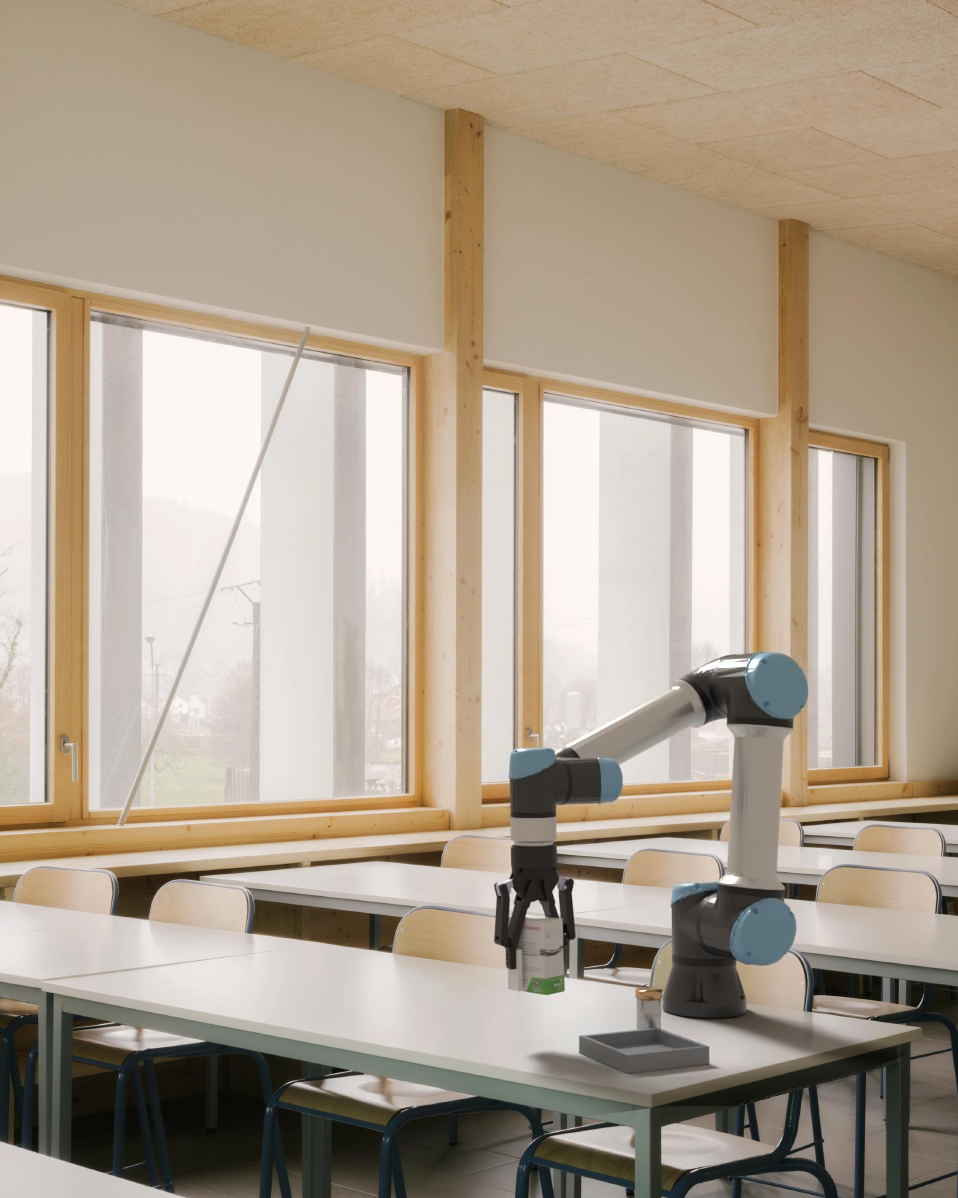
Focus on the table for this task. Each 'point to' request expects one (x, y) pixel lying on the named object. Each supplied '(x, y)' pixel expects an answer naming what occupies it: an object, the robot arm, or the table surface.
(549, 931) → the ink box
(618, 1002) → the table surface
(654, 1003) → the fuse
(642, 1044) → the parts tray
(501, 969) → the table surface
